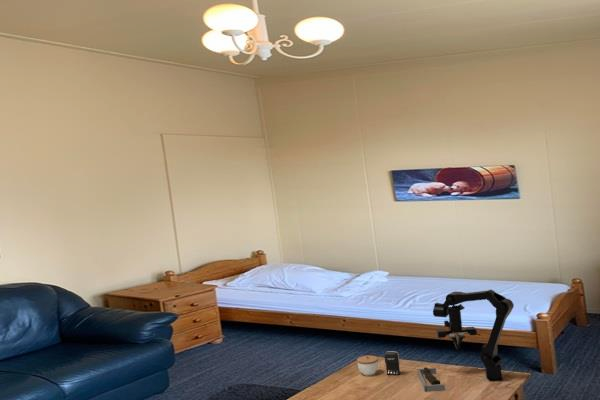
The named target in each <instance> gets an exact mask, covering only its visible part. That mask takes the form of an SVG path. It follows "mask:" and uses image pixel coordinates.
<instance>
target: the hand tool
mask: <svg viewBox="0 0 600 400" xmlns="http://www.w3.org/2000/svg"><path fill="white" fill-rule="evenodd" d="M423 369H424V374H423V375H424V378H425V379H426V380H427V381H428V382H429V383H430V385H437V384H441V380H440V379H437V377H436V376H434V374H432V373H431V372H430V370H429V369H428V367H424V368H423Z"/></svg>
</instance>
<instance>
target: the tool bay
mask: <svg viewBox="0 0 600 400" xmlns="http://www.w3.org/2000/svg"><path fill="white" fill-rule="evenodd" d="M427 368H428V367H427ZM428 369H429V370H430V372H431V373H432V374H433V375H434V374H437V367H429V368H428ZM417 375H418V379H419V381H420V383H421V385H422V387H423V389H424V392H436V391H437V392H439V391H446V388H445V383H442V384H441V383H440V384H437V385H432V384H429V385H428V384H427V383H426V381H425V379H424V377H423V376H424V375H425V374H424V368H417Z"/></svg>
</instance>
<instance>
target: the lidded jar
mask: <svg viewBox="0 0 600 400" xmlns="http://www.w3.org/2000/svg"><path fill="white" fill-rule="evenodd" d="M356 361H357V367H358V371H360V373H361V374H362V375H363V376H366V377H367V376H368V377H369V376H374V375H375V373H376V372H378V368H379V357H377V356H375V355H368V354H367V355H361V356H360V357H357V359H356Z"/></svg>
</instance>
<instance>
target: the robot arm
mask: <svg viewBox="0 0 600 400" xmlns="http://www.w3.org/2000/svg"><path fill="white" fill-rule="evenodd" d="M483 300H484V301H485V300H487V301H488V302H489V303H490V304H491V306H492V307H493V308H495V319H494V323H493V326H492V329H491V332H490V335H489V337H488V338H489V339H488V341H487V343H484V344H483V345H482V346H481V348H480V349H481V350H480V352H479V353H478V354H479V359H480V360H481V362H483V363H482V364H483V365H484V372H485V378H486V379H487V380H488V381H489V382H496V381H504V378H503V376H502V375H503V374H502V373H503V372H502V362H503V359H502V358H501V357H500V355H498V352H499V350H498V344H499V341H500V339H501V338H500V337H501V335H502V332H503V329H504V326H505V324H506V320H507V318H508V317H509V316H510V314H511V312H512V311H513V309H514V305H515V304H514V302H513V301H512V300H511V299H509V298H507V297H505V296H504V295H501V294H499V293H497V291H495V290H494V289H488V290H480V291H472V292H471V291H470V292H462V291H452V292H450V293H448V294H447V295H446V296H445V301H444V302H443V303H439V302H435V303H434V306H433V309H432V315H433V316H434V317H435V318H447V317H448V320H444V321H443V324H444V328H448V330H445V329H444V328H442V329H441V328H440V329H439V328H438V329H437V330H436V332H435V334H436V335H435V336H436V337H437V338H438V339H440V338H441V339H442V338H446V337H447V336H448V338H449V339H451V340H452V341H453V344H454V346H455V348H456V350H457V351H459V350H460V348H461V344H462V342H463V340H464V339H465V338H466V335H465V334H468V335H469V336H478V331H477V329H476V328H475V326H466V328H465V329H463V326H462V325H463V322H462V312H461V311H462V310H464V309H465V306H464V305H462V303H466V302H475V301H476V302H477V301H483Z"/></svg>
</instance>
